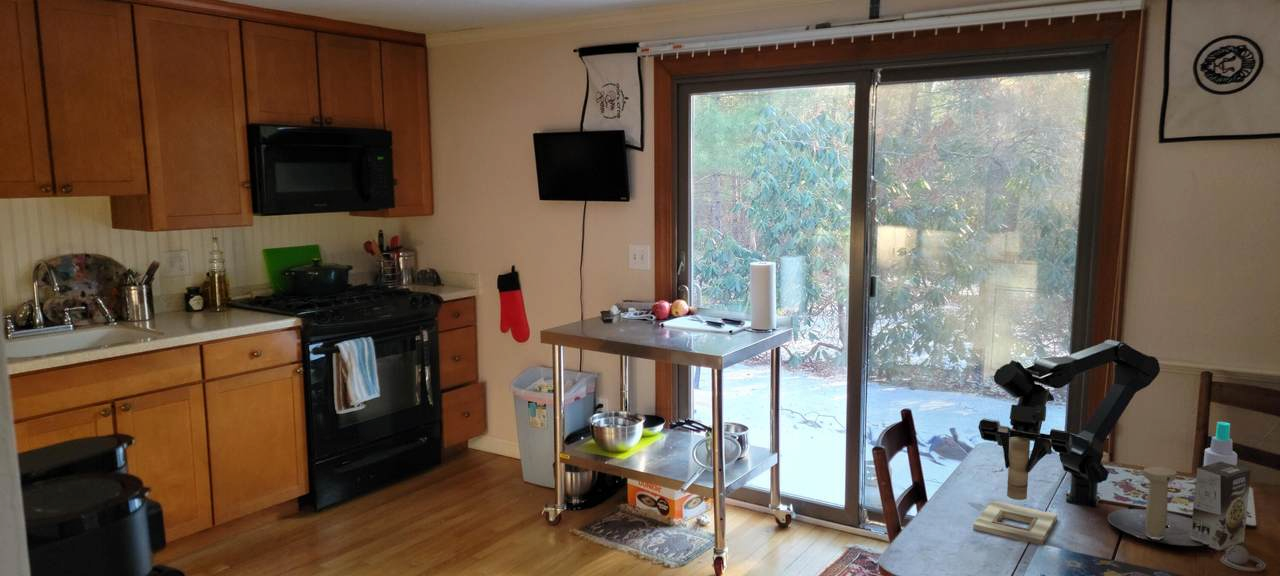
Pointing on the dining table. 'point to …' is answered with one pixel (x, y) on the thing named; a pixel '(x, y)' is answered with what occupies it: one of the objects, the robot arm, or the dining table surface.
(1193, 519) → the grey upright rectangular box
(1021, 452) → the peg
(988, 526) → the socket board
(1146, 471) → the handle
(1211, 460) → the white bottle turquoise cap
